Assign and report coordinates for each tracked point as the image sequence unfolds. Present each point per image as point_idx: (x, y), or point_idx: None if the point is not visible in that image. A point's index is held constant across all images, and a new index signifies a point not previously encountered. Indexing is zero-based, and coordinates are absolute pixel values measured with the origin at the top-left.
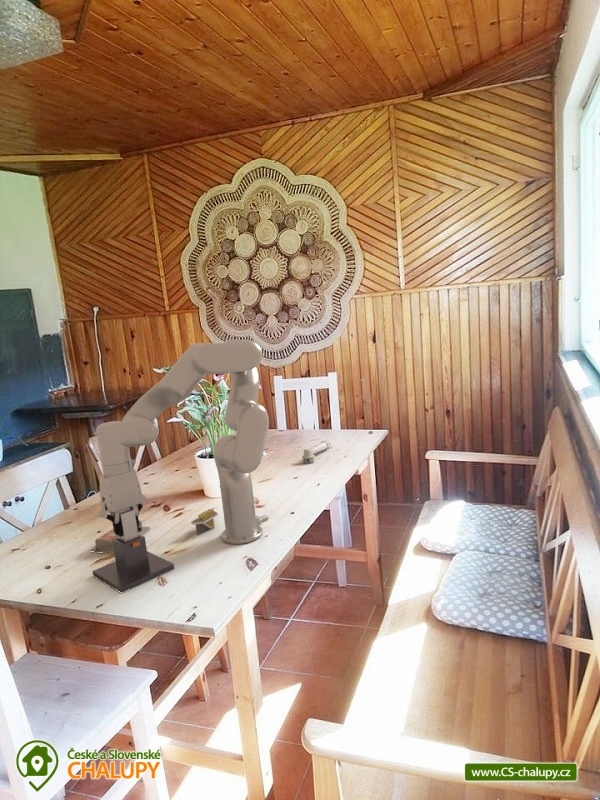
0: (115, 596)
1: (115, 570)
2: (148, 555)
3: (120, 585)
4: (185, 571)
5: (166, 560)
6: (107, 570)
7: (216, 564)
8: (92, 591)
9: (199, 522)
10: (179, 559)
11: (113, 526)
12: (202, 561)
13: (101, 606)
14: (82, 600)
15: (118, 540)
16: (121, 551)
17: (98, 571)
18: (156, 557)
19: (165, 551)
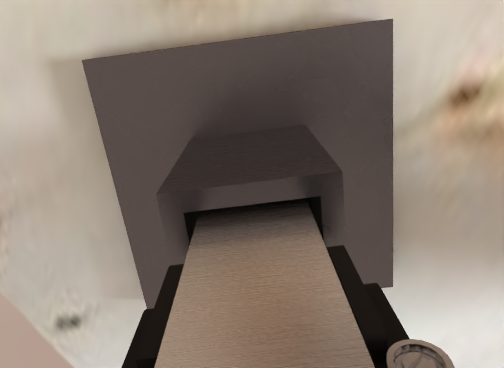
0: (130, 304)
1: (180, 151)
2: (367, 119)
3: (154, 298)
4: (398, 318)
5: (391, 238)
6: (148, 120)
7: (499, 350)
8: (63, 206)
9: None
10: (449, 213)
11: (130, 357)
12: (489, 296)
13: (72, 330)
14: (17, 245)
15: (197, 221)
16: None
17: (108, 92)
18: (380, 173)
19: (466, 80)
